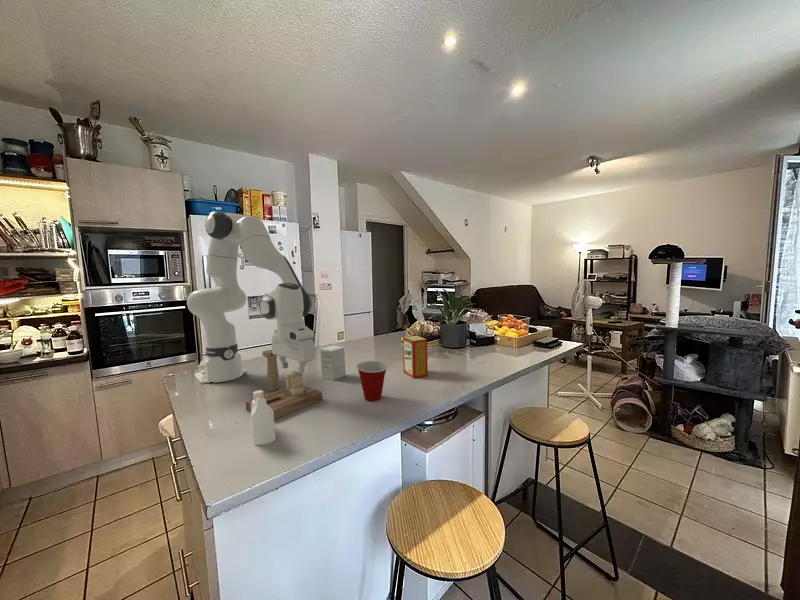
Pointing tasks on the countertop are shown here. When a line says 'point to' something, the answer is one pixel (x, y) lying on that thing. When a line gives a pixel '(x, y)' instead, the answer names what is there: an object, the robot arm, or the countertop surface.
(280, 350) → the robot arm
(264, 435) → the white sloped-shoulder bottle
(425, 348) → the baking soda box
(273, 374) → the handle
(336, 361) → the mini drawer cabinet
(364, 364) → the plastic cup
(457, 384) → the countertop surface
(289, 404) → the socket block
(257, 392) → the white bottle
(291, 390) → the maple peg
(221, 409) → the countertop surface
